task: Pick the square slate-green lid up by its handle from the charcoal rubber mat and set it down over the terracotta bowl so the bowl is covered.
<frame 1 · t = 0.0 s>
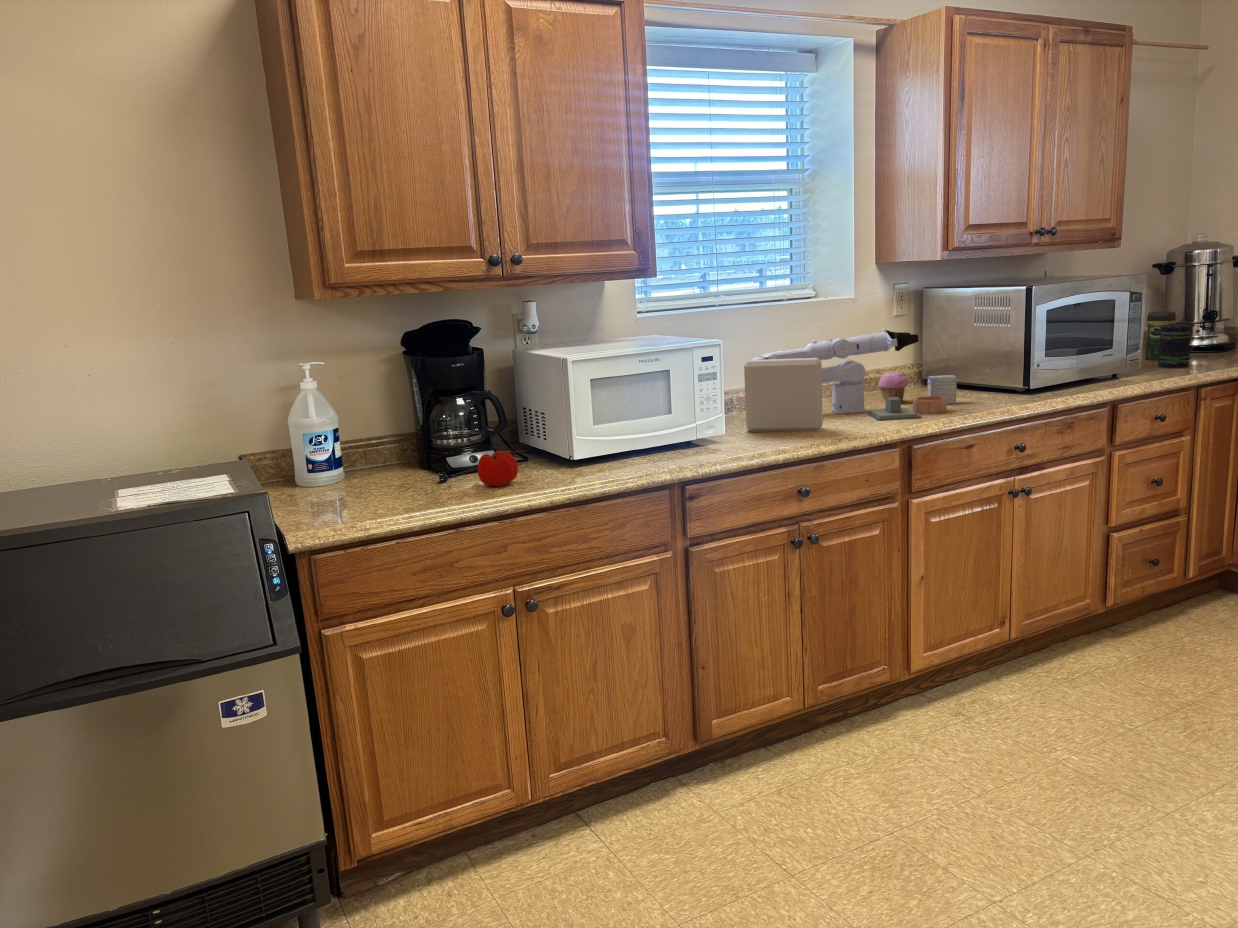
hand: (914, 337, 274), 22 cm above the counter, tool horizontal, fingers open, 7 cm apart
bowl: (929, 411, 270), on the counter
mat: (893, 416, 266), on the counter
tomato: (499, 485, 211), on the counter
lid: (893, 414, 266), resting on mat
coffee jar: (1159, 359, 351), on the counter
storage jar: (1173, 367, 329), on the counter
cupcake: (892, 403, 291), on the counter
medicine box: (941, 404, 283), on the counter
taupe bevelled box: (784, 430, 256), on the counter
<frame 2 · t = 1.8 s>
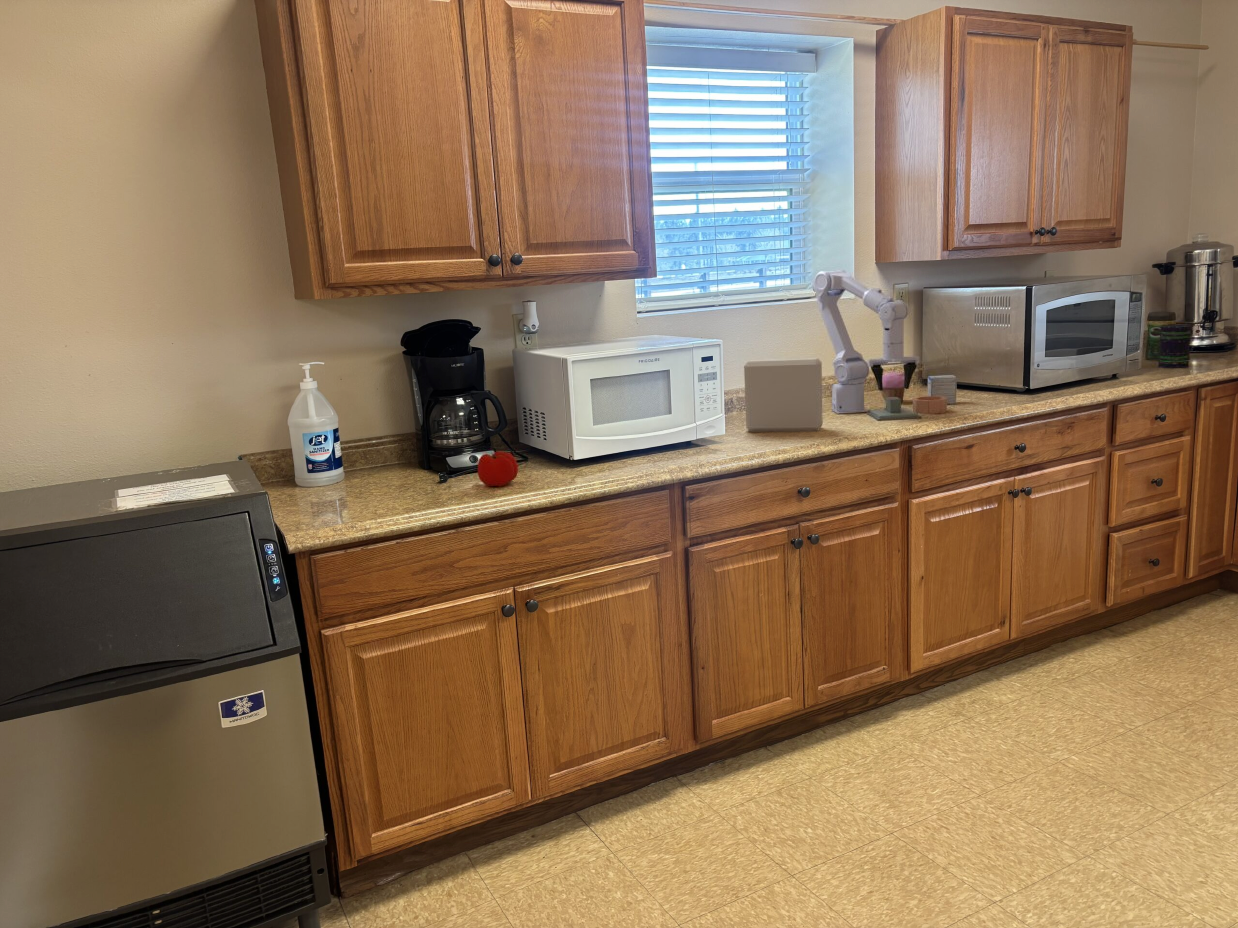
hand: (893, 389, 265), 8 cm above the counter, tool pointing down, fingers open, 7 cm apart
nothing on the counter moved.
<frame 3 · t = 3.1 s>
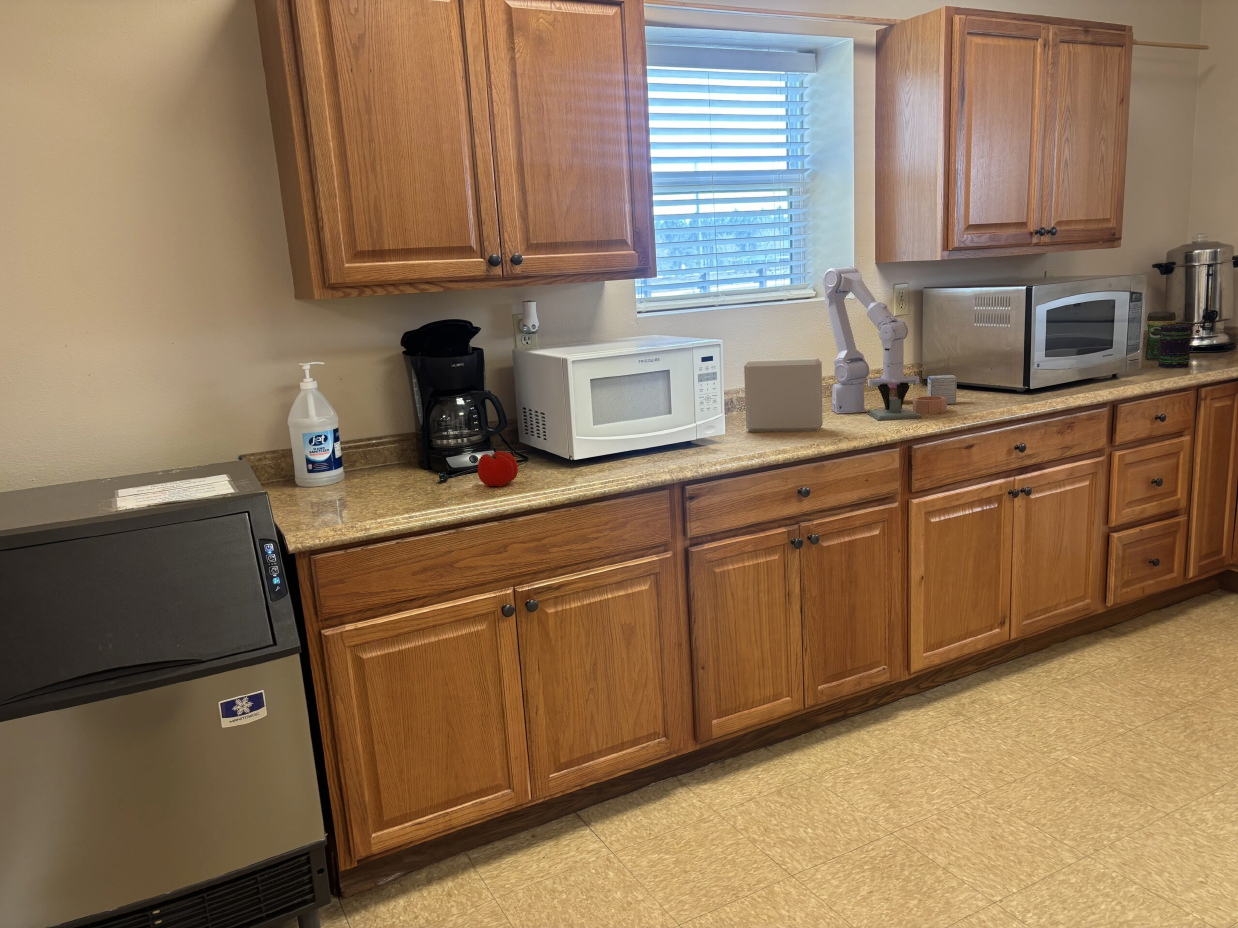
hand: (893, 409, 266), 2 cm above the counter, tool pointing down, fingers closed on lid, 3 cm apart
lid: (893, 414, 266), resting on mat, touching gripper
everything else where it was.
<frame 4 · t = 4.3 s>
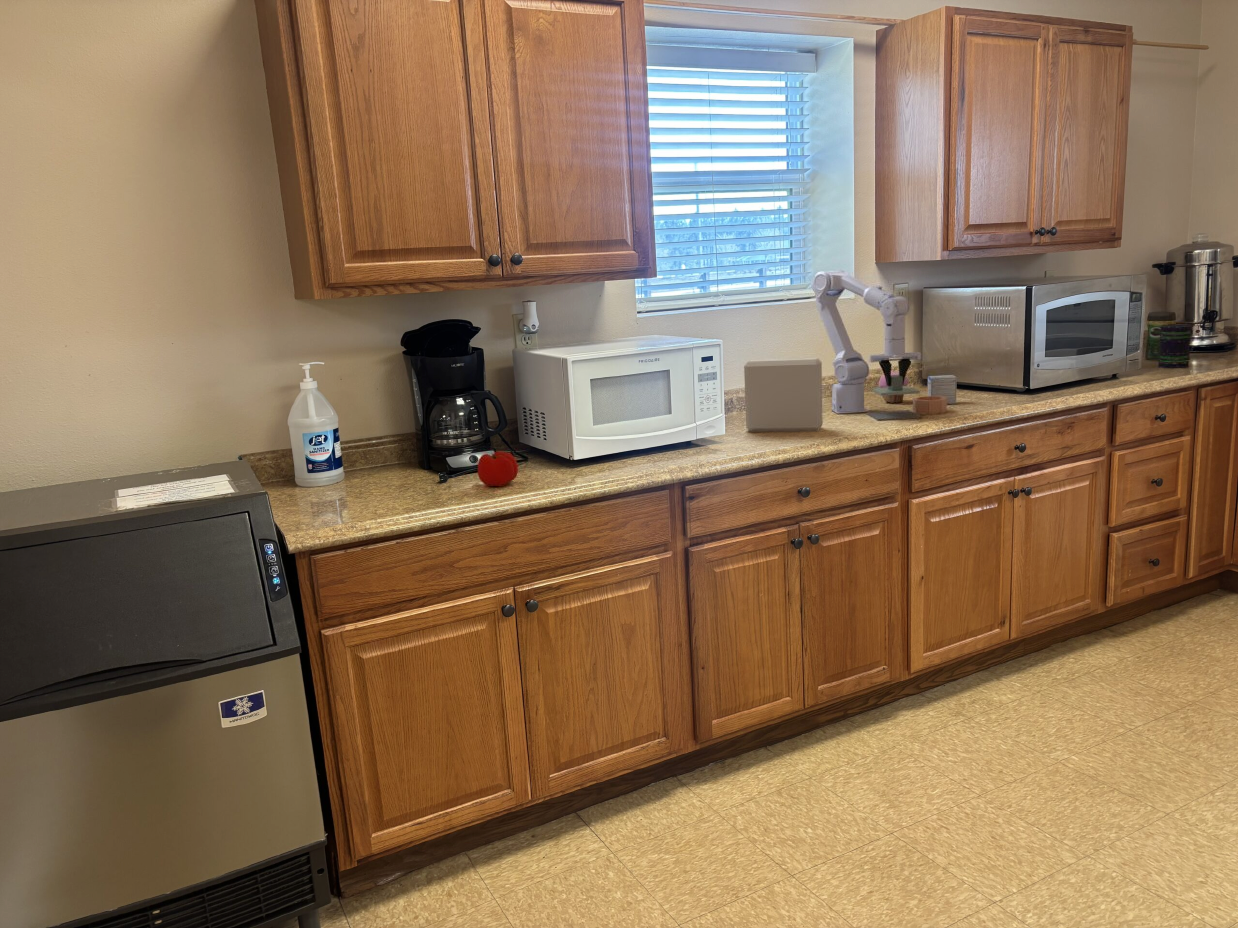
hand: (894, 385, 265), 9 cm above the counter, tool pointing down, fingers closed on lid, 3 cm apart
lid: (895, 392, 265), point 7 cm above the counter, touching gripper
everything else where it was.
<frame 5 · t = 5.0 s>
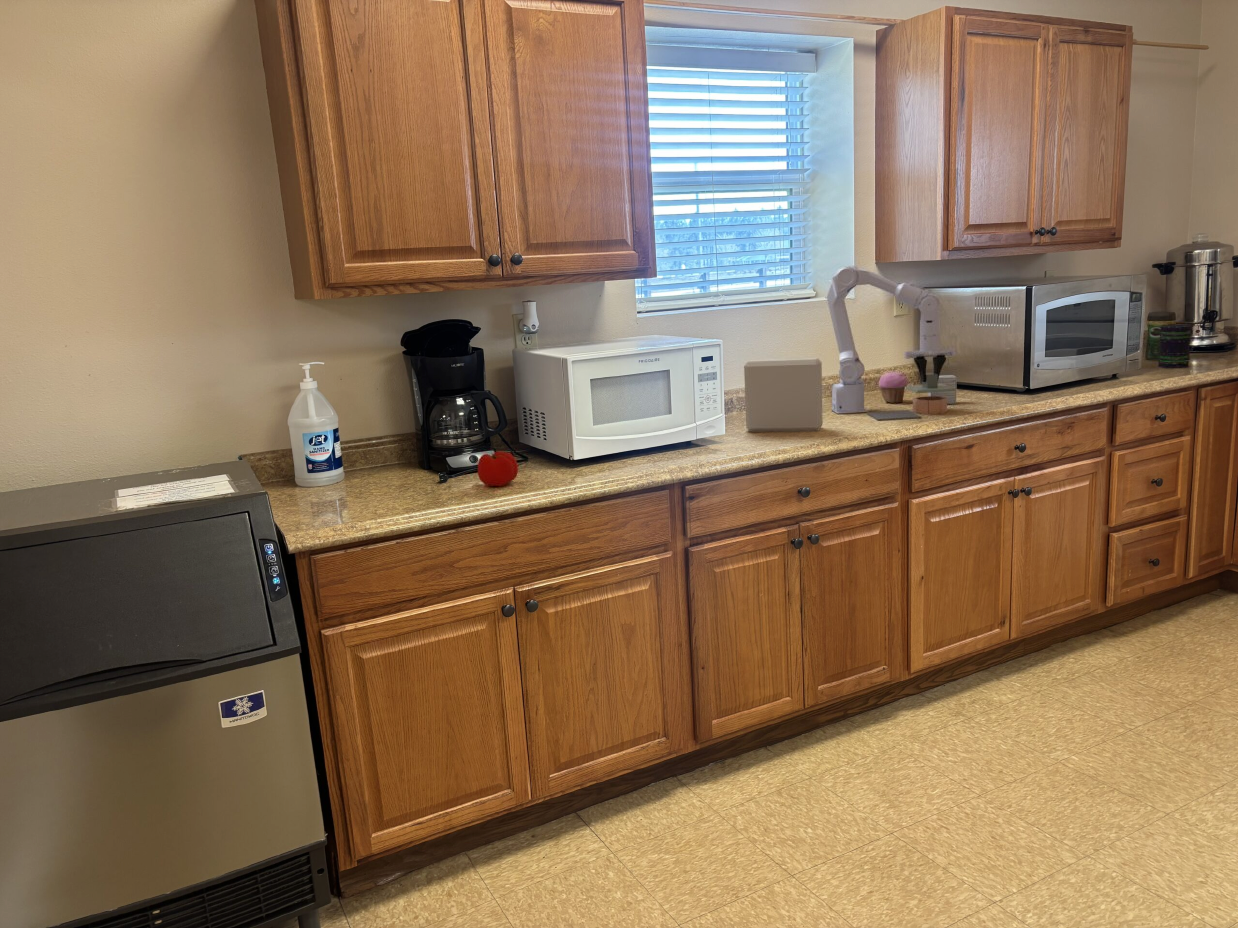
hand: (929, 381, 268), 9 cm above the counter, tool pointing down, fingers closed on lid, 3 cm apart
lid: (929, 389, 268), point 7 cm above the counter, touching gripper
everything else where it was.
when the fingers open (7 cm above the counter, at t = 5.7 s): lid stays where it is, resting on bowl.
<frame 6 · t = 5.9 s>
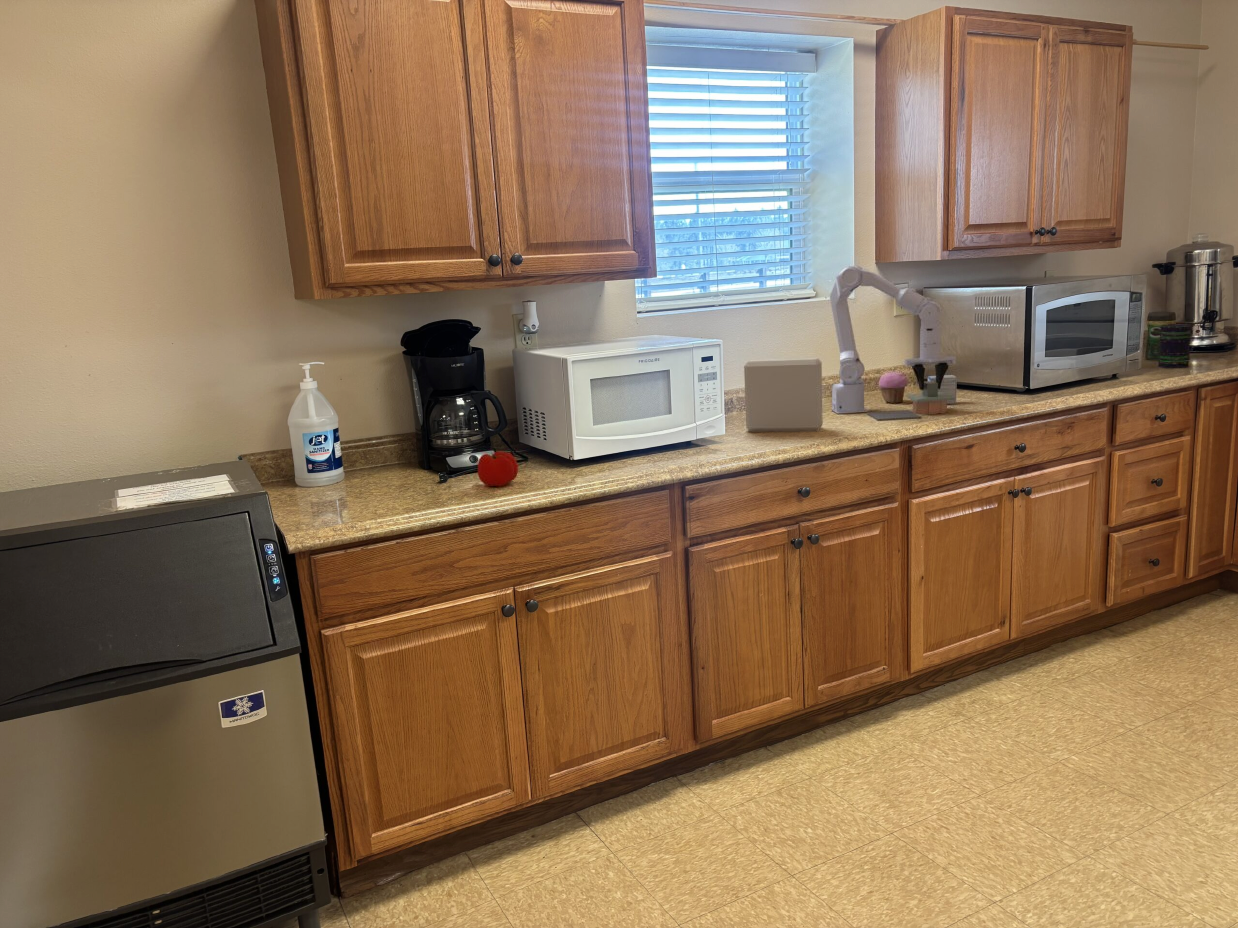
hand: (929, 389, 269), 7 cm above the counter, tool pointing down, fingers open, 4 cm apart
bowl: (929, 411, 270), on the counter, touching lid
lid: (929, 398, 269), point 4 cm above the counter, touching bowl
everything else where it was.
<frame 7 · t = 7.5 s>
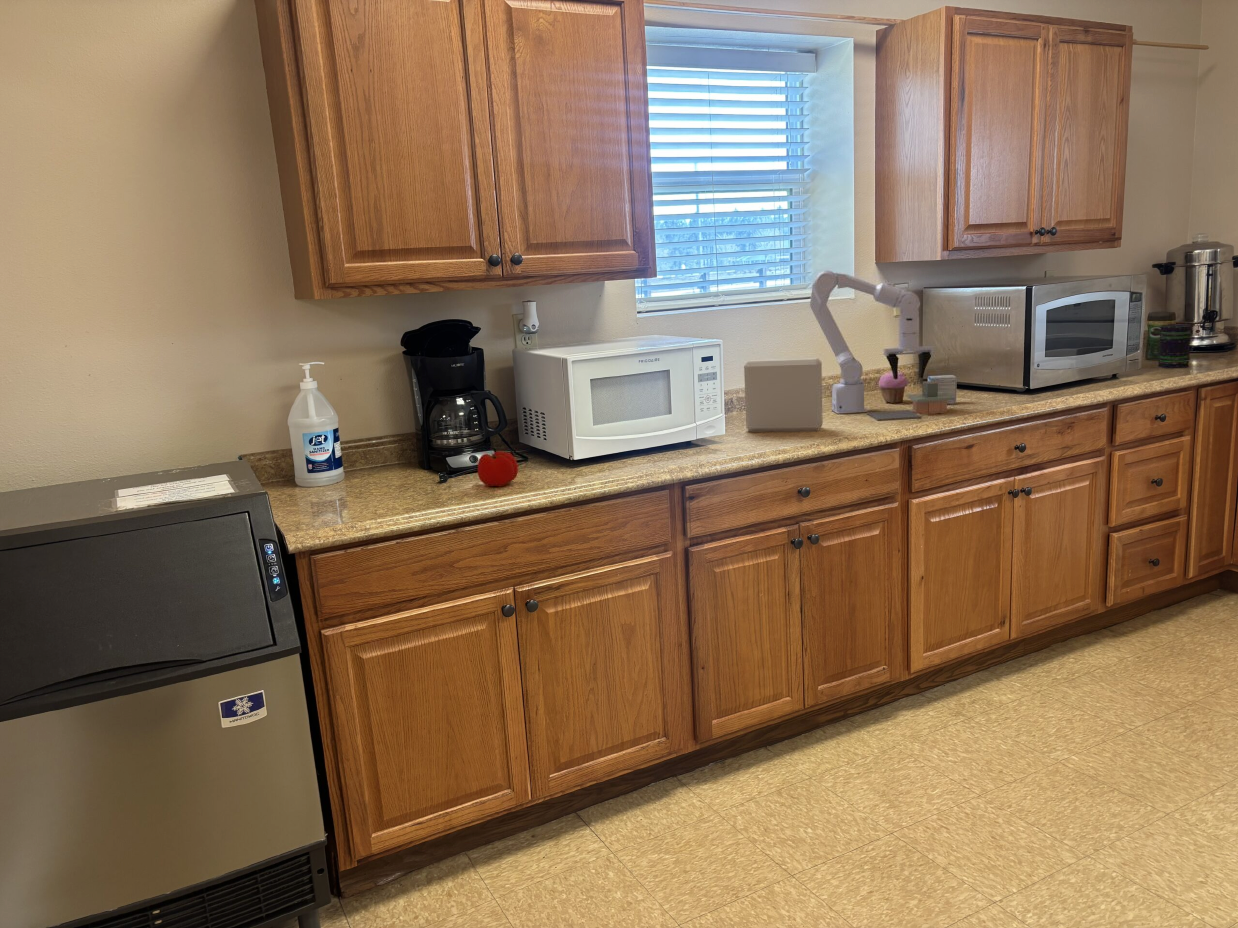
hand: (908, 378, 273), 10 cm above the counter, tool pointing down, fingers open, 7 cm apart
nothing on the counter moved.
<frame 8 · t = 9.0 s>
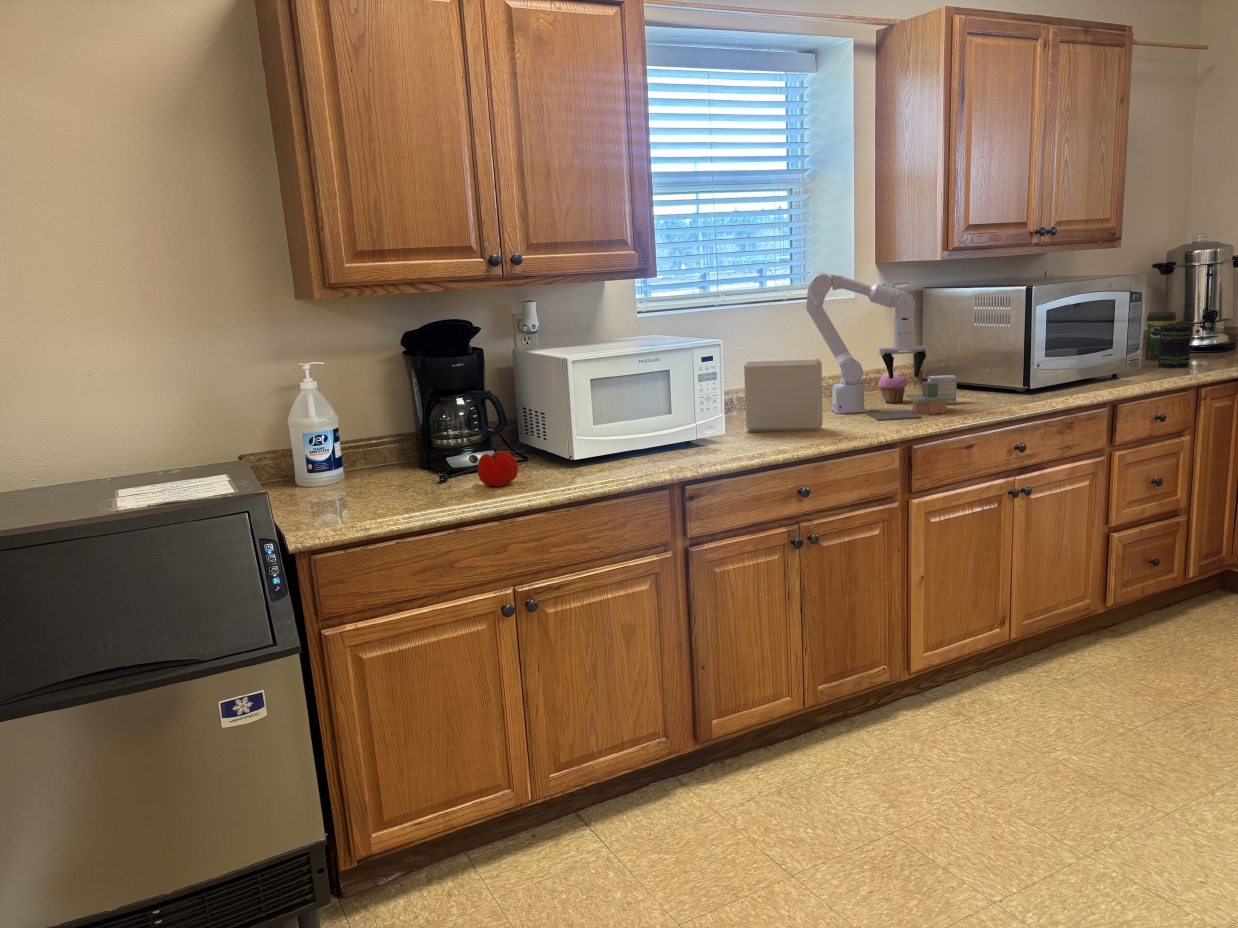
hand: (903, 377, 274), 10 cm above the counter, tool pointing down, fingers open, 7 cm apart
nothing on the counter moved.
at the end: lid 0.1 cm from the bowl (horizontally); lid point 4.0 cm above the counter; lid tilted 0° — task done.
